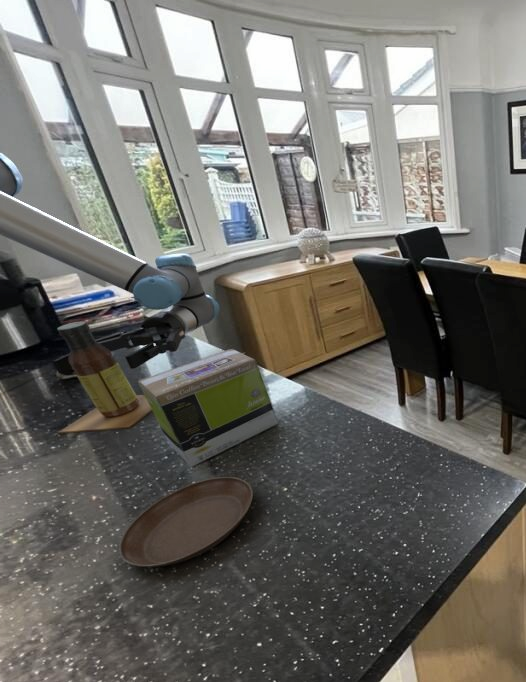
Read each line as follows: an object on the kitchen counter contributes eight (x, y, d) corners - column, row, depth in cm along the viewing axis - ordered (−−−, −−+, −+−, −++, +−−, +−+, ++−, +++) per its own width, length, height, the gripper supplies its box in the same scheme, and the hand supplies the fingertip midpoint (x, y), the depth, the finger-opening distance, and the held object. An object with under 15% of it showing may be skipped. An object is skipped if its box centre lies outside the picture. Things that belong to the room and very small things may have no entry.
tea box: (256, 409, 83) (233, 346, 77) (279, 425, 78) (257, 358, 72) (169, 448, 72) (135, 378, 66) (189, 470, 66) (154, 395, 60)
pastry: (87, 363, 106) (81, 350, 105) (115, 361, 107) (109, 349, 105) (55, 380, 98) (47, 367, 96) (85, 378, 99) (78, 364, 97)
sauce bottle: (139, 399, 88) (98, 315, 79) (141, 410, 83) (98, 323, 75) (99, 411, 83) (51, 324, 75) (99, 423, 79) (49, 333, 71)
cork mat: (59, 433, 77) (58, 432, 77) (113, 398, 89) (113, 396, 89) (129, 428, 78) (128, 426, 78) (174, 394, 90) (173, 392, 90)
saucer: (239, 560, 51) (232, 545, 50) (99, 594, 47) (89, 579, 46) (269, 480, 64) (264, 467, 63) (161, 502, 60) (154, 489, 59)
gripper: (226, 336, 100) (166, 377, 81) (122, 342, 99) (36, 385, 79) (216, 308, 97) (152, 344, 78) (109, 314, 95) (16, 352, 76)
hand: (93, 365), depth 78 cm, fingers open, 13 cm apart
